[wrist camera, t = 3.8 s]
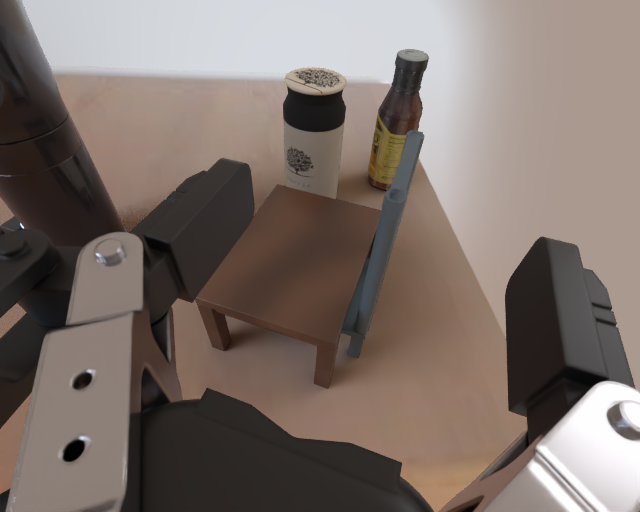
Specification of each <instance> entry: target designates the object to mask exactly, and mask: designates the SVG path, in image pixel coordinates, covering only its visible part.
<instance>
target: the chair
mask: <svg viewBox="0 0 640 512" xmlns="http://www.w3.org/2000/svg"><path fill="white" fill-rule="evenodd" d="M423 140H424V135H423V133H422V132H418V131H414V130H410V131H409V132H407V134H406V138H405V142H404V146H403V150H402V154H401V158H400V162H399V165H398V168H397V171H396V173H395V176H394V179H393V182H392V185H391V188H390V189H389V190H387V191H386V193H385V197H384V201H383V205H382V210H381V214H380V218H379V222H378V227H377V231H376V235H375V240H374V244H373V248H372V253H371V257H370V259H368V258H366V261H365V264H364V267H363V270H362V273H361V276H360V278H359V281H358V284H357V287H356V290H355V293H354V296H353V299H352V301H351V304H350V307H349V310H348V313H347V316H346V319H345V322H344V325H343V327H342V330H341V333H344V334H347V335H350V336H352V337H351V341H350V345H349V350H348V355H350V356H353V357H356V358H358V357H359V354H360V350H361V347H362V343H363V340H365V336H366V333H367V332H368V330H369V326H370V323H371V320H372V316H373V313H374V309H375V306H376V303H377V299H378V296H379V292H380V289H381V285H382V282H383V279H384V275H385V272H386V268H387V265H388V261H389V258H390V255H391V251H392V248H393V244H394V241H395V238H396V234H397V231H398V227H399V224H400V220H401V217H402V214H403V210H404V207H405V203H406V200H407V195H408V191H409V188H410V184H411V181H412V178H413V174H414V171H415V167H416V164H417V160H418V157H419V154H420V150H421V147H422V143H423Z"/></svg>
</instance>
